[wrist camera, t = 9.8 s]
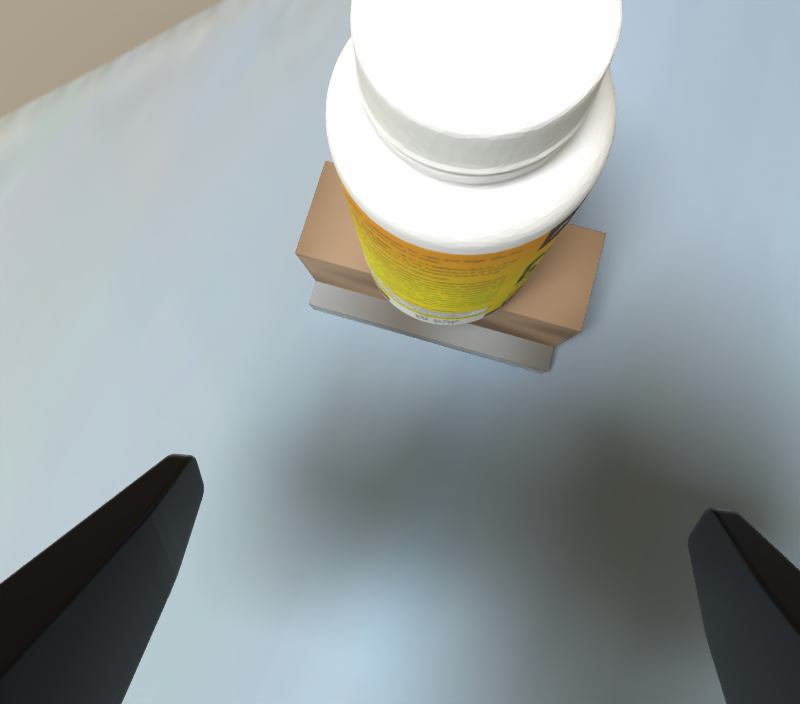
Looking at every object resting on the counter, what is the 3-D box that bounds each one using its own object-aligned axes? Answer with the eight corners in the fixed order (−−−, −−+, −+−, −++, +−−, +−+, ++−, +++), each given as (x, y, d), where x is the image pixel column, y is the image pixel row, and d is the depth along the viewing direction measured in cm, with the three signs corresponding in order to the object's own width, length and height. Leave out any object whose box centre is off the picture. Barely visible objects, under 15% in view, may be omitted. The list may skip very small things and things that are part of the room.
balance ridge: (574, 250, 22) (612, 206, 17) (542, 373, 21) (573, 360, 17) (351, 191, 23) (334, 135, 18) (313, 308, 22) (286, 280, 18)
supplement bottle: (514, 344, 17) (651, 225, 7) (350, 311, 17) (250, 152, 7) (543, 187, 18) (708, -134, 7) (386, 158, 18) (340, -183, 8)
